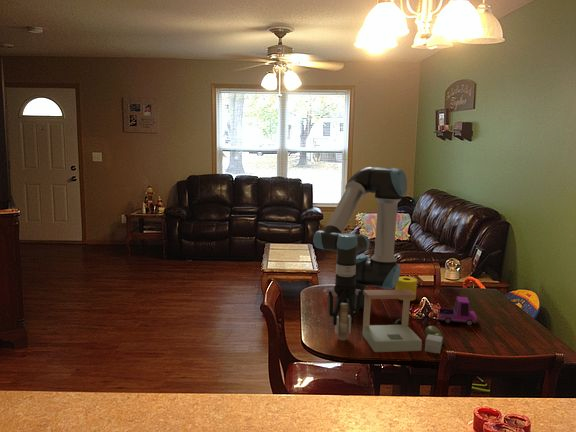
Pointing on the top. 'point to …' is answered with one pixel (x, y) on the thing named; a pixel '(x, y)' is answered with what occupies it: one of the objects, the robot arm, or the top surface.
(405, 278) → the tape roll
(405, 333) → the socket board
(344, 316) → the peg
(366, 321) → the beige arch frame
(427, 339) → the small box
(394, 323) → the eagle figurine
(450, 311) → the toy truck
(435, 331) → the pear
